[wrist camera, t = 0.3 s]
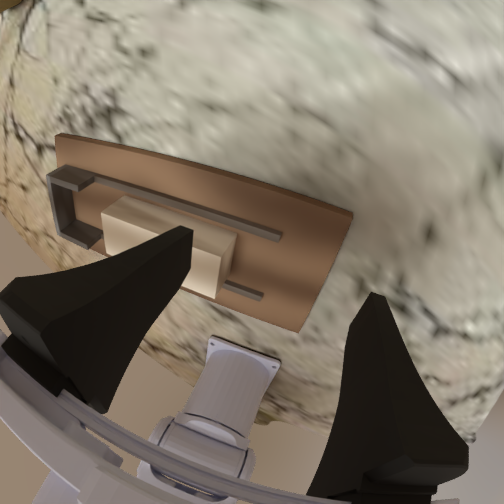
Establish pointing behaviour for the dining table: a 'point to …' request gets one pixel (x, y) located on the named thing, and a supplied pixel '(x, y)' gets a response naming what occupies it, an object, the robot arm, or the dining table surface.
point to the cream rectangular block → (161, 220)
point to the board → (207, 221)
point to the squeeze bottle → (8, 4)
